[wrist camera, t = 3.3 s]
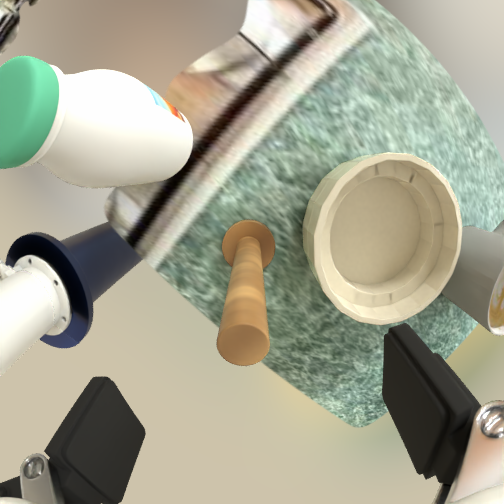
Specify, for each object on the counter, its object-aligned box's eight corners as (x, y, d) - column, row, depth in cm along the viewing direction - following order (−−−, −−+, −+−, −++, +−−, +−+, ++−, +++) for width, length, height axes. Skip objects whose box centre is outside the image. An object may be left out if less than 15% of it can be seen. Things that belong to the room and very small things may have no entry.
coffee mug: (452, 314, 30) (495, 351, 21) (425, 264, 28) (478, 297, 19) (506, 248, 28) (553, 269, 18) (486, 192, 26) (541, 204, 16)
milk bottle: (209, 152, 25) (104, 104, 6) (146, 197, 27) (-15, 249, 7) (169, 92, 24) (45, -11, 4) (110, 138, 25) (-53, 119, 6)
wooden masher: (213, 252, 28) (165, 358, 11) (240, 209, 27) (219, 266, 10) (257, 277, 29) (261, 402, 12) (284, 236, 28) (327, 327, 11)
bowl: (271, 253, 28) (276, 274, 22) (353, 126, 25) (377, 115, 19) (379, 319, 30) (400, 346, 24) (449, 211, 27) (481, 221, 21)
